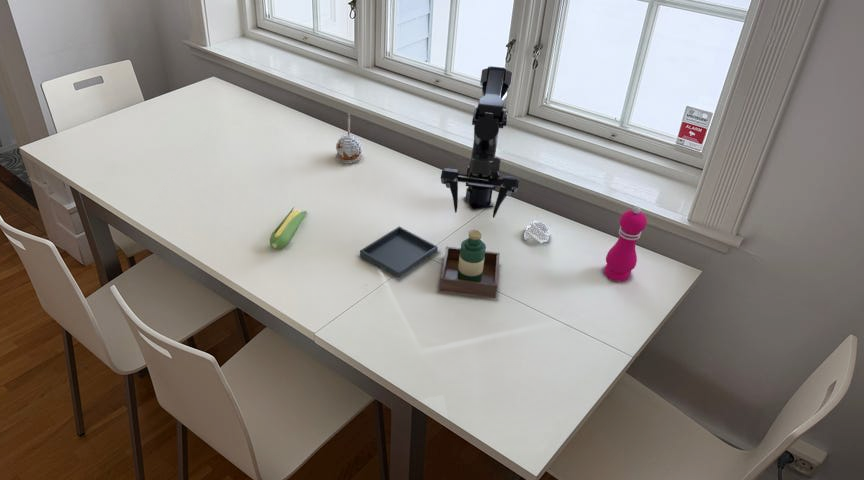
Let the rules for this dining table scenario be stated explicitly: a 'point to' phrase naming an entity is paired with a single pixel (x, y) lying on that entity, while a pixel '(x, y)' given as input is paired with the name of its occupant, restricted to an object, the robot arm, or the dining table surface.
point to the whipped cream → (537, 232)
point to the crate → (481, 288)
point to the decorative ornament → (348, 147)
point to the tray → (398, 251)
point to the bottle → (471, 257)
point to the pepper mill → (625, 246)
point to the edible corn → (286, 229)
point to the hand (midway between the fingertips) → (474, 214)
